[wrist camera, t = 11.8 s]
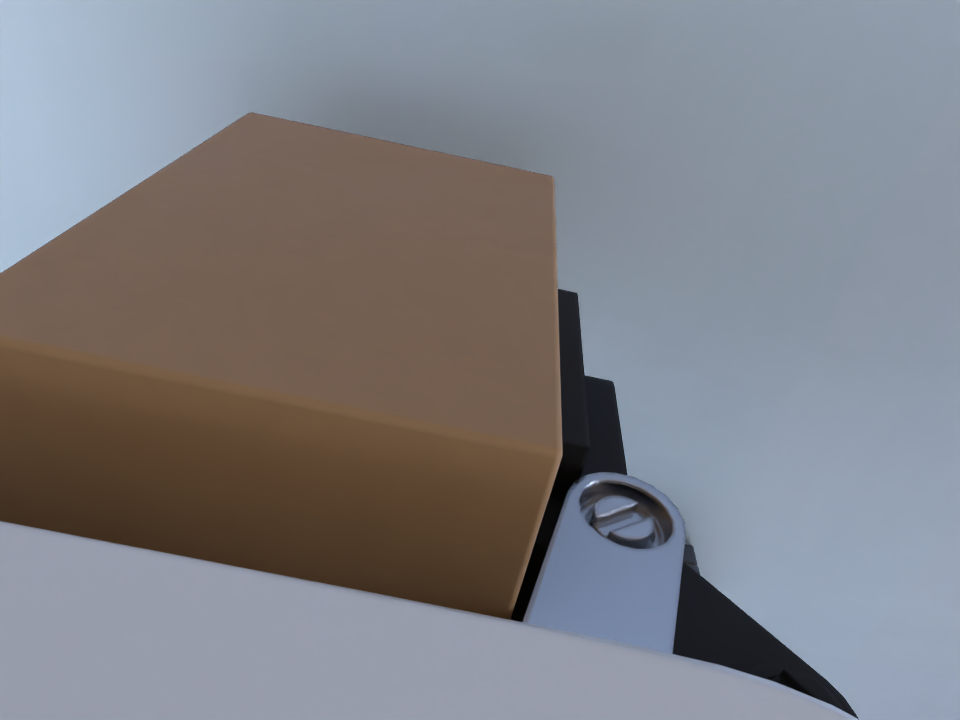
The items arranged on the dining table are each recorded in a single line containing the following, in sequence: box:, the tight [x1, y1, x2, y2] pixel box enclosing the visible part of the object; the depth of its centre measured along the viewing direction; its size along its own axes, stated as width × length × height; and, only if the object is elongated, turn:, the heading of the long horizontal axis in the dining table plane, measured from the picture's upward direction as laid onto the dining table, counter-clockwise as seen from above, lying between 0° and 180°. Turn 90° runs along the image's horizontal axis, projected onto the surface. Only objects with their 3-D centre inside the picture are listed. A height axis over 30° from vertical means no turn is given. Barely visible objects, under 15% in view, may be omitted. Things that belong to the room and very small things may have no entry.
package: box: [0, 112, 563, 620], centre depth 9 cm, size 6×4×7 cm
